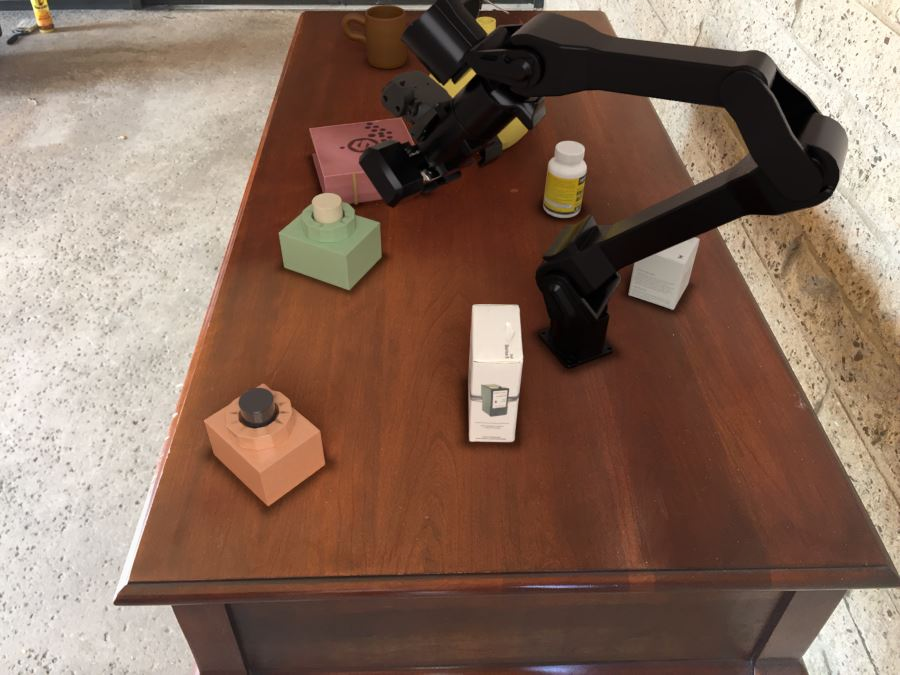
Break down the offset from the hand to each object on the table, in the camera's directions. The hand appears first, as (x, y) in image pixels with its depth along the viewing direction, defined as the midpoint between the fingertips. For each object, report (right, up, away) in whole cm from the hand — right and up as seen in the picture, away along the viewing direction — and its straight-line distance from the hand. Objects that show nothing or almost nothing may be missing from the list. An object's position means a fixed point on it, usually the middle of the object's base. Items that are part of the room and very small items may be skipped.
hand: (395, 194), depth 90 cm
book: (-6, +8, +28) cm, 30 cm away
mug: (-8, +36, +59) cm, 69 cm away
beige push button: (-9, -1, +7) cm, 12 cm away
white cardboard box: (+33, -11, +9) cm, 35 cm away
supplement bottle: (+22, +2, +22) cm, 32 cm away
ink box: (+11, -25, -7) cm, 28 cm away
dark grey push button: (-12, -24, -16) cm, 31 cm away
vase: (+11, +16, +37) cm, 42 cm away
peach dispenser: (-12, -29, -12) cm, 33 cm away
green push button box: (-9, -7, +12) cm, 17 cm away
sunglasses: (+13, +44, +68) cm, 82 cm away
